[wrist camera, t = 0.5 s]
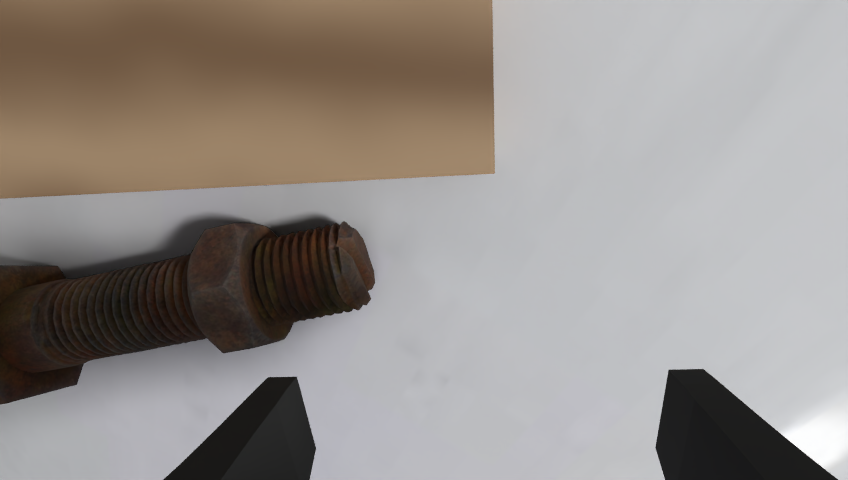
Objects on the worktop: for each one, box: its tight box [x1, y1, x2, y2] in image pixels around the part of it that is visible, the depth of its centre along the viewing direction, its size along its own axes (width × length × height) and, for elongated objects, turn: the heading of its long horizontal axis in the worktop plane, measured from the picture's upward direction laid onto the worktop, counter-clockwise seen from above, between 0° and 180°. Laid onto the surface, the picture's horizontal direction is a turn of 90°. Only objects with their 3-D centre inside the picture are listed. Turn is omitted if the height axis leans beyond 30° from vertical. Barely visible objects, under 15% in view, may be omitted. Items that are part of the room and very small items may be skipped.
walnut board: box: [0, 0, 495, 199], centre depth 15 cm, size 8×24×2 cm, turn 94°
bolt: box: [0, 221, 375, 404], centre depth 18 cm, size 6×5×15 cm
